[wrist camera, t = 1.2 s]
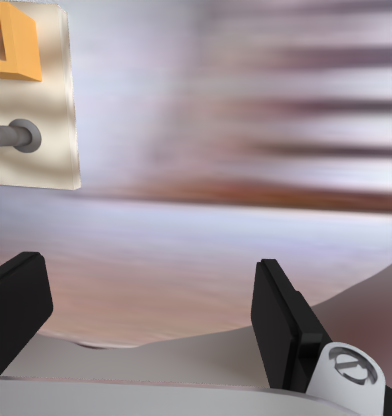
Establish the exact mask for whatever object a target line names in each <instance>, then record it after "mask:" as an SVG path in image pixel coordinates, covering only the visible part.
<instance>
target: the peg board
mask: <svg viewBox="0 0 392 416" xmlns="http://www.w3.org/2000/svg"><path fill="white" fill-rule="evenodd" d="M0 1H2V2H9V3H10V4H12V5H13V6H15V7H16V8H17V9H19V10H20V11H22V12H23V13H25V14H26V15H27V16H29V17H30V18H32V19H33V20H34V21H35V22H36V31H37V39H38V48H39V57H40V65H41V74H42V82H40V81H27V80H13V79H0V185H11V186H25V187H39V188H53V189H67V190H75V189H78V188H80V187H81V180H80V168H79V155H78V143H77V131H76V118H75V106H74V94H73V81H72V69H71V56H70V44H69V32H68V19H67V13H66V12H65V11H64V10H63V9H62V8H61V7H60V6H59V5H58V4H46V3H32V2H18V1H5V0H0ZM0 60H1V61H6V54H5V48H4V41H3V35H2V30H0Z"/></svg>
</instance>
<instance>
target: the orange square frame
mask: <svg viewBox="0 0 392 416" xmlns="http://www.w3.org/2000/svg"><path fill="white" fill-rule="evenodd" d="M0 30H2V35H3V41H4V48H5V54H6V61H1V60H0V79H13V80H27V81H40V82H42V74H41V65H40V57H39V48H38V39H37V31H36V22H35V21H34V20H33V19H32V18H30V17H29V16H27V15H26V14H25V13H23V12H22V11H20V10H19V9H17V8H16V7H15V6H13V5H12V4H10V3H9V2H2V1H0Z"/></svg>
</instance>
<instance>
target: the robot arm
mask: <svg viewBox="0 0 392 416" xmlns="http://www.w3.org/2000/svg"><path fill="white" fill-rule="evenodd" d="M52 312H53V302H52V297H51V292H50V286H49V281H48V275H47V270H46V265H45V259H44V257H43V256H42V255H41V254H40V253H39V252H22V253H20V254H18V255H17V256H15V257H14V258H12V259H10V260H9V261H7V262H6V263H4V264H3V265H1V266H0V375H1V374H2V373H3V371H4V370H5V369H6V368H7V367H8V365H9V364H10V363H11V362H12V361H13V360H14V358H15V357H16V356H17V355H18V354H19V352H20V351H21V350H22V349H23V348H24V346H25V345H26V344H27V343H28V342H29V340H30V339H31V338H32V337H33V336H34V335H35V333H36V332H37V331H38V330H39V329H40V327H41V326H42V325H43V324H44V323H45V322H46V320H47V319H48V318H49V317H50V316H51V314H52ZM251 321H252V325H253V328H254V332H255V336H256V339H257V342H258V346H259V350H260V353H261V357H262V360H263V363H264V367H265V371H266V375H267V378H268V382H269V385H270V388H263V387H250V386H234V385H218V384H199V383H176V382H150V381H126V380H99V379H98V380H97V379H69V378H41V377H40V378H39V377H8V376H0V416H392V389H391V388H390V387H388V386H386V385H385V378H384V374H383V372H382V370H381V369H380V367H379V366H378V365H377V364H376V362H375V361H374V360H373V359H372V358H370V357H369V356H368V355H367V354H366V353H364V352H362V351H361V350H359V349H357V348H355V347H353V346H351V345H348V344H344V343H339V342H333V341H332V340H331V338H330V337H329V335H328V334H327V332H326V331H325V329H324V328H323V326H322V325H321V323H320V322H319V320H318V319H317V317H316V315H315V314H314V313H313V311H312V310H311V308H310V306H309V305H308V303H307V302H306V300H305V299H304V297H303V296H302V294H301V293H300V292H299V291H296V290H295V289H294V287H293V286H292V284H291V283H290V281H289V279H288V278H287V276H286V275H285V273H284V271H283V270H282V268H281V267H280V265H279V264H278V262H277V260H276V259H262V260H261V262H257V265H256V273H255V282H254V291H253V299H252V308H251Z"/></svg>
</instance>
